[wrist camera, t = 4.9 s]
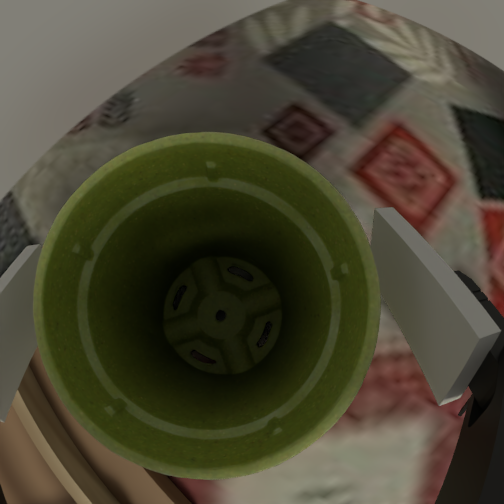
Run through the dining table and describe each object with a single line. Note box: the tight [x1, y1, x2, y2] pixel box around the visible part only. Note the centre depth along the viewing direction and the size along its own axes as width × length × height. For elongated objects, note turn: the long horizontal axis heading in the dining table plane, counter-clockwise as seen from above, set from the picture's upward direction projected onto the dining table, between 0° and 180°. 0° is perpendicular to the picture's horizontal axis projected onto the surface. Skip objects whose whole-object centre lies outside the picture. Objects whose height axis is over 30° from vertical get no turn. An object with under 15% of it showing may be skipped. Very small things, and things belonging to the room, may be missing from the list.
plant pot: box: [33, 132, 381, 480], centre depth 12 cm, size 9×9×9 cm
